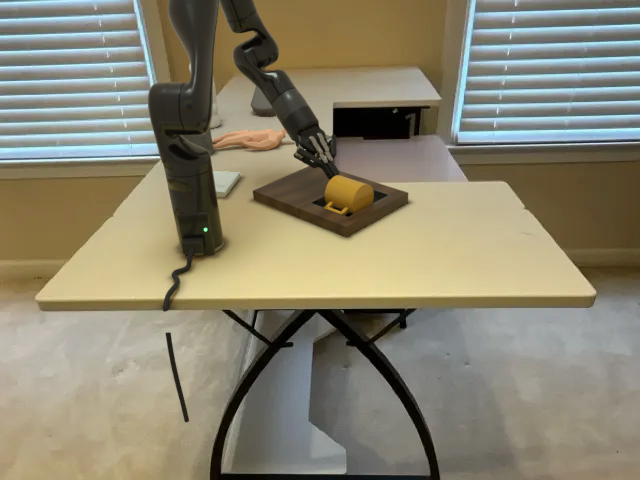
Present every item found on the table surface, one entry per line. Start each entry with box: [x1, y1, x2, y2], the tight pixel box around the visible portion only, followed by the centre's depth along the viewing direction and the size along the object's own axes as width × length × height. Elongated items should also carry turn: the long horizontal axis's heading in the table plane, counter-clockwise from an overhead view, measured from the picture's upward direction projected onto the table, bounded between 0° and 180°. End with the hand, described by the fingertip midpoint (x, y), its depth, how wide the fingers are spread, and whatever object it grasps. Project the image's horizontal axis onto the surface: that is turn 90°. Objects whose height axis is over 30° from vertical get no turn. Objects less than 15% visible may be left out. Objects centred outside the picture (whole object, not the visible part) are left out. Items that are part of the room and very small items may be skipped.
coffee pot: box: [250, 68, 276, 117], centre depth 200 cm, size 21×12×15 cm, turn 8°
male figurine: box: [212, 126, 288, 151], centre depth 175 cm, size 11×5×25 cm
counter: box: [252, 165, 409, 238], centre depth 142 cm, size 30×22×2 cm
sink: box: [310, 189, 390, 218], centre depth 139 cm, size 12×15×2 cm
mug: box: [324, 175, 374, 215], centre depth 135 cm, size 10×7×8 cm
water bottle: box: [188, 64, 221, 130], centre depth 184 cm, size 7×7×25 cm
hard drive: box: [213, 170, 241, 198], centre depth 152 cm, size 2×8×12 cm
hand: (335, 178), depth 138 cm, fingers closed
